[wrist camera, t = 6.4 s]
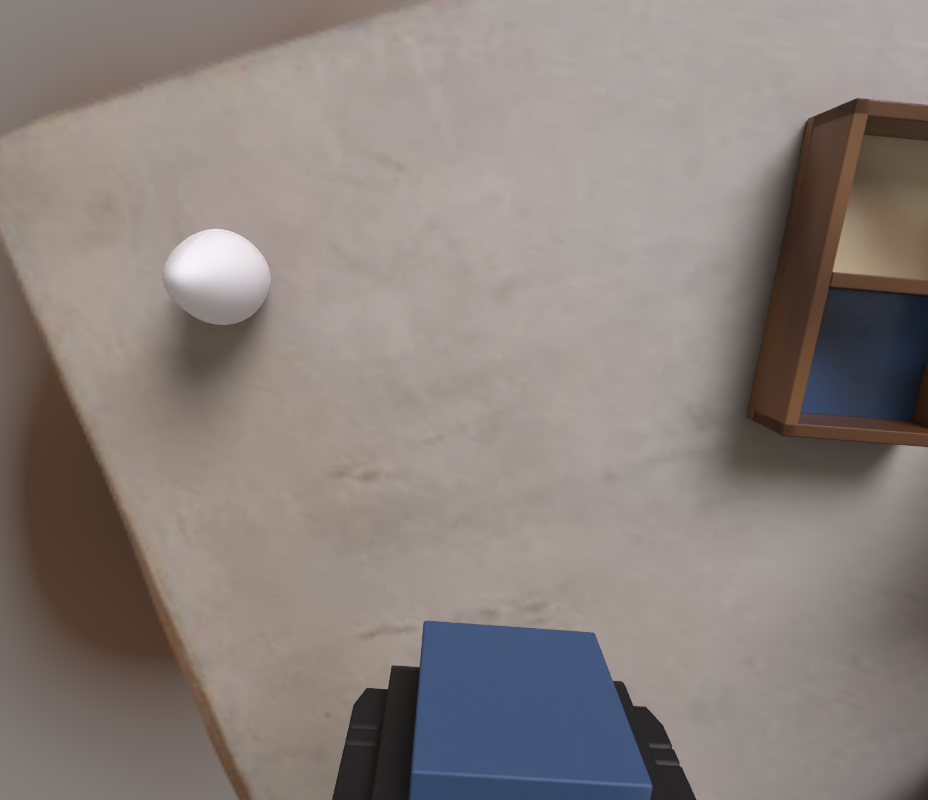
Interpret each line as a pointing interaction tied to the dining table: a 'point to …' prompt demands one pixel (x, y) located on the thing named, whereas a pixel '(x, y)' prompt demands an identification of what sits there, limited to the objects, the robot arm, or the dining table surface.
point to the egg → (217, 277)
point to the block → (520, 718)
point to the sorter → (852, 283)
